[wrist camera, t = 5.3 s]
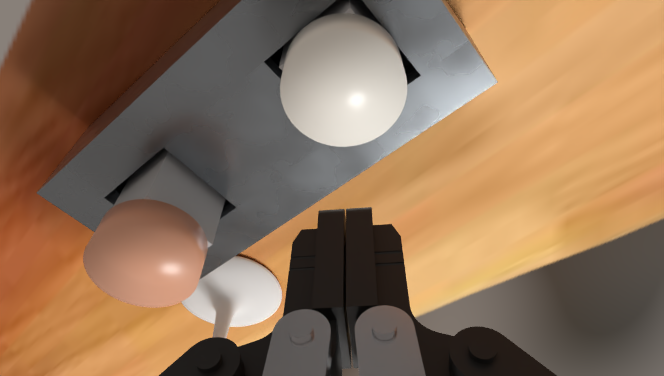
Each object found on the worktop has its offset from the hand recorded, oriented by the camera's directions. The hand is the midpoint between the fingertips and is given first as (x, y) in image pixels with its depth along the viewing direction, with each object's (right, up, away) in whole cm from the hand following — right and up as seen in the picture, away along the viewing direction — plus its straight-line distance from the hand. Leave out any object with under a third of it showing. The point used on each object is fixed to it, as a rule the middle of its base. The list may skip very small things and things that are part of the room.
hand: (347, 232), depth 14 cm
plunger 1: (-9, +2, +14) cm, 17 cm away
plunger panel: (-4, +8, +16) cm, 18 cm away
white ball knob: (0, +9, +12) cm, 15 cm away
